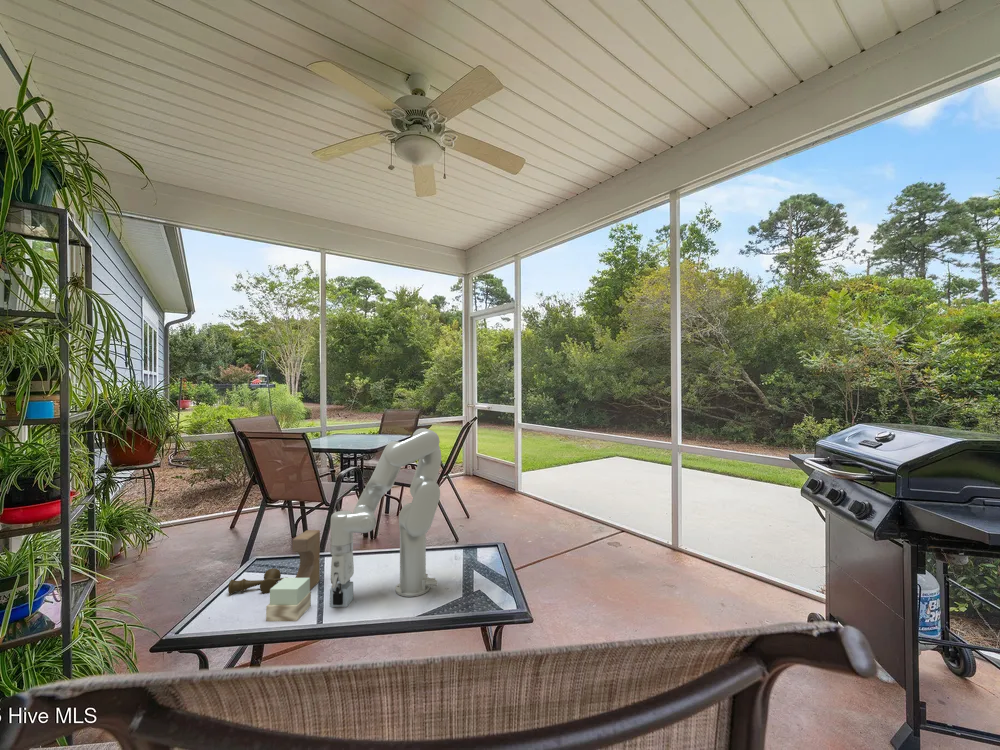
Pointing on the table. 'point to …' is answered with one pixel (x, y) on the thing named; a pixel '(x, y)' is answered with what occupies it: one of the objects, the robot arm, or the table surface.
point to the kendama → (257, 582)
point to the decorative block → (308, 555)
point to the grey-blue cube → (347, 594)
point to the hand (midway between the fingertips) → (341, 599)
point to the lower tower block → (288, 610)
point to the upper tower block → (289, 591)
